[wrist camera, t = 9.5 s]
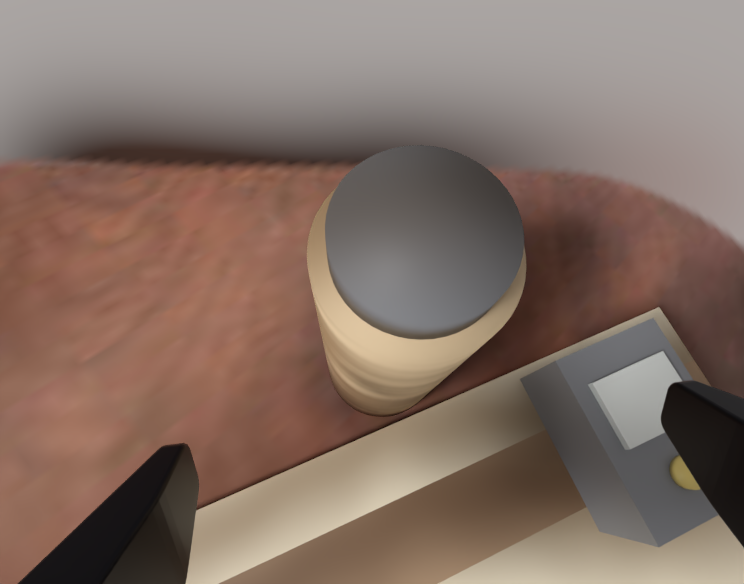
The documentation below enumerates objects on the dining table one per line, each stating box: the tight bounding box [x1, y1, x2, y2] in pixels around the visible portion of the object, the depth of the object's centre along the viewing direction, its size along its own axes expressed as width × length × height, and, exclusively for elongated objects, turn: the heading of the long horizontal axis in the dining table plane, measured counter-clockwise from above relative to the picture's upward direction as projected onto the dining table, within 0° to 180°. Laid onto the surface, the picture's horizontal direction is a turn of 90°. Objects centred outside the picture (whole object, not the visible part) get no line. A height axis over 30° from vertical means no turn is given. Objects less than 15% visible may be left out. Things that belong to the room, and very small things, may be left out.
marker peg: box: [307, 145, 526, 417], centre depth 14 cm, size 4×4×12 cm
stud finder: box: [520, 318, 718, 547], centre depth 16 cm, size 6×4×4 cm, turn 23°
